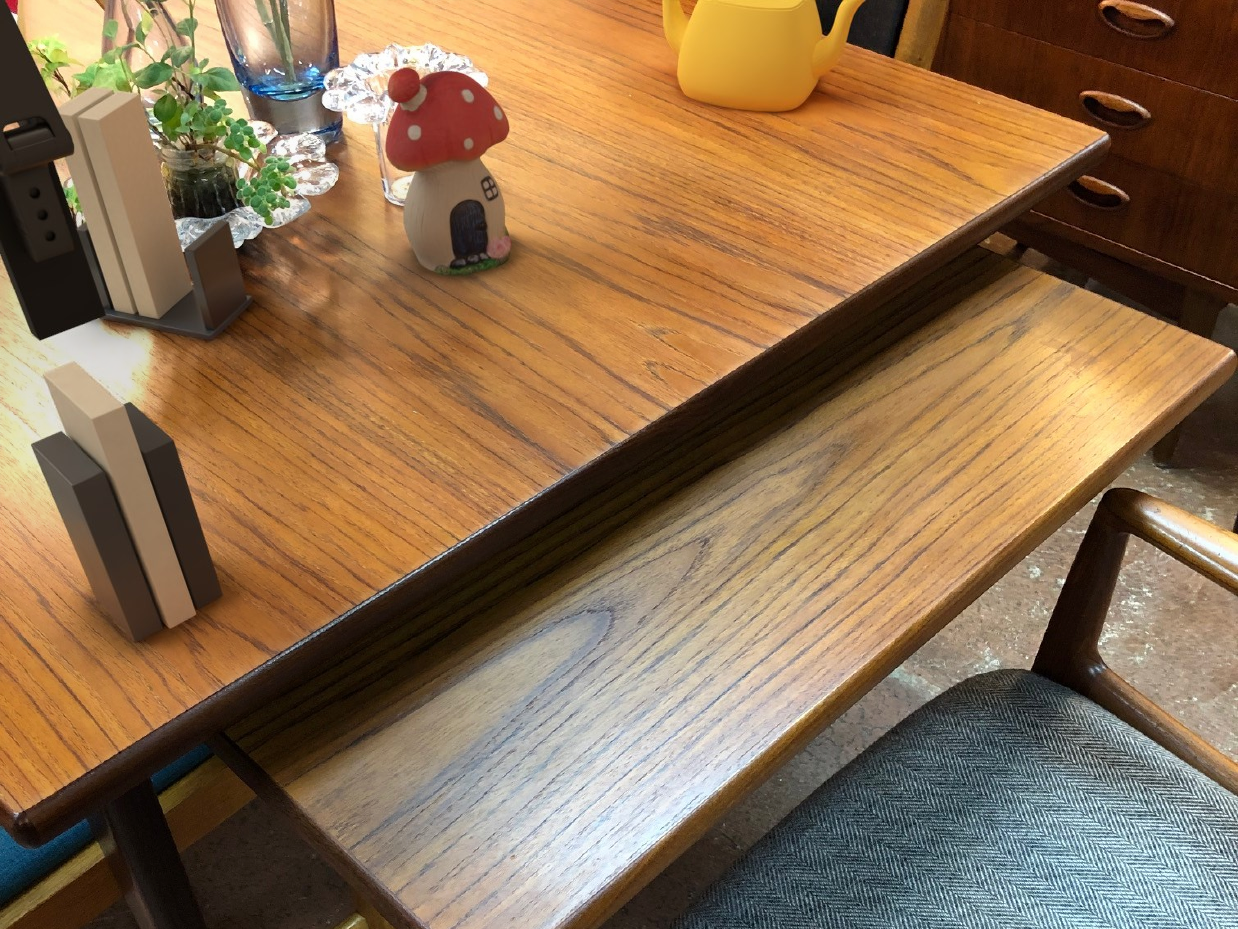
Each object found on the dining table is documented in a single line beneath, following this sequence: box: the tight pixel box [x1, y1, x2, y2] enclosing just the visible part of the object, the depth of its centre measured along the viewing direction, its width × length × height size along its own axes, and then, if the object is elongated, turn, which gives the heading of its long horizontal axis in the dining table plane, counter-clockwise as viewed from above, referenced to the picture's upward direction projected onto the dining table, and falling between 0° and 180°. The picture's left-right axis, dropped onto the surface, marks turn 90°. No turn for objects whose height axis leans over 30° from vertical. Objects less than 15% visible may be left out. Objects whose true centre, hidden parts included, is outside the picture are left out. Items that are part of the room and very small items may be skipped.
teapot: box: [661, 0, 866, 113], centre depth 113 cm, size 22×16×11 cm
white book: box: [42, 361, 197, 629], centre depth 60 cm, size 2×5×14 cm, turn 44°
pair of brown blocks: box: [30, 401, 224, 643], centre depth 61 cm, size 5×4×11 cm
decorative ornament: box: [384, 67, 512, 276], centre depth 87 cm, size 9×7×15 cm
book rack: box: [76, 219, 254, 342], centre depth 83 cm, size 9×6×7 cm, turn 72°
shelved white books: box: [57, 86, 193, 319], centre depth 81 cm, size 4×4×14 cm
